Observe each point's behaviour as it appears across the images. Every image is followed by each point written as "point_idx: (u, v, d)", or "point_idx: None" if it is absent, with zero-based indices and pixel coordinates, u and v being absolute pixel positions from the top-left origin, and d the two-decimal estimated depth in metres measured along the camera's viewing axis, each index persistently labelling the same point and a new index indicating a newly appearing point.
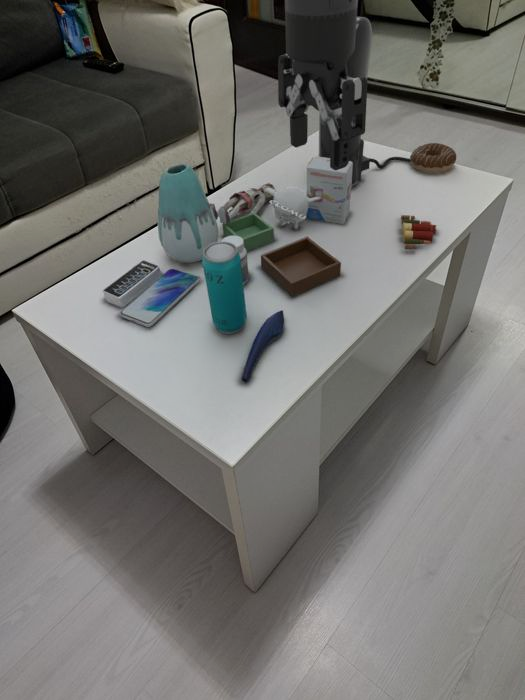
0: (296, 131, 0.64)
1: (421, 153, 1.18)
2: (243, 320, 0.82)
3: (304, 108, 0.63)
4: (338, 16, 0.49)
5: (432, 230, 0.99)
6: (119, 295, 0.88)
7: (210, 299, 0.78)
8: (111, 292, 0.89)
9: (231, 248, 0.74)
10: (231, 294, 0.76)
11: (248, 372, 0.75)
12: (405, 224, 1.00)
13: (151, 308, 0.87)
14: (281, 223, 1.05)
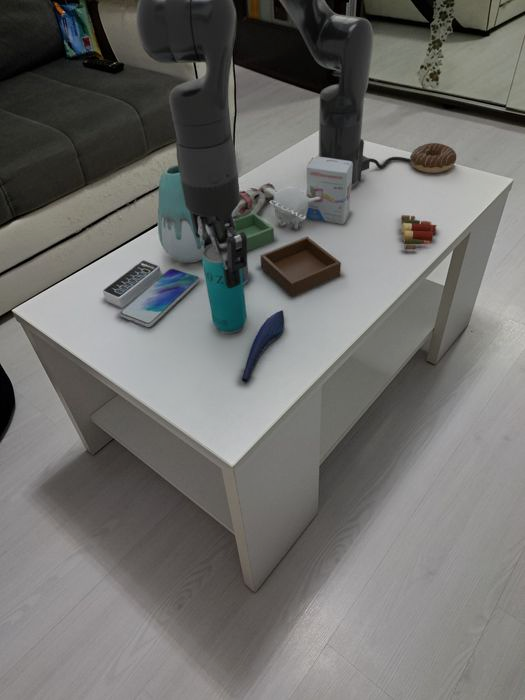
0: None
1: (421, 153, 1.18)
2: (243, 320, 0.82)
3: None
4: (218, 187, 0.63)
5: (432, 230, 0.99)
6: (119, 295, 0.88)
7: (210, 299, 0.78)
8: (111, 292, 0.89)
9: None
10: (231, 294, 0.76)
11: (248, 372, 0.75)
12: (405, 224, 1.00)
13: (151, 308, 0.87)
14: (281, 223, 1.05)
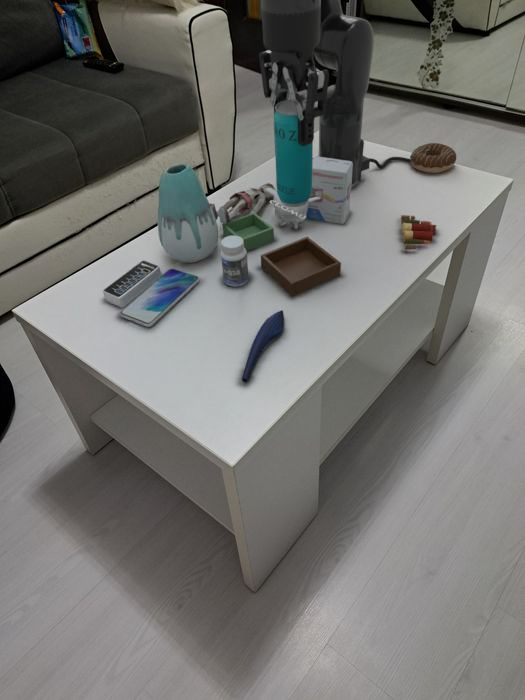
0: None
1: (421, 153, 1.18)
2: (310, 191, 0.80)
3: (285, 97, 0.74)
4: (304, 14, 0.61)
5: (432, 230, 0.99)
6: (119, 295, 0.88)
7: (278, 164, 0.76)
8: (111, 292, 0.89)
9: (304, 104, 0.72)
10: (302, 155, 0.74)
11: (248, 372, 0.75)
12: (405, 224, 1.00)
13: (151, 308, 0.87)
14: (281, 223, 1.05)
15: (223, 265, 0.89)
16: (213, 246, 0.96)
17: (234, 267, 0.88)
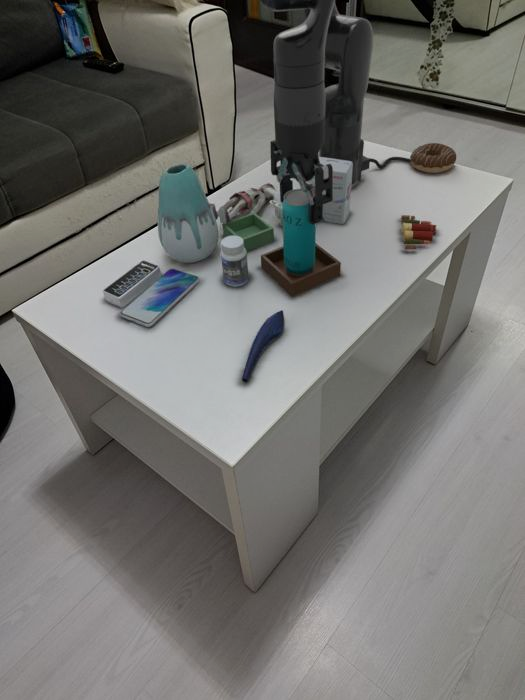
0: (284, 193, 0.86)
1: (421, 153, 1.18)
2: (313, 263, 0.91)
3: (290, 176, 0.84)
4: (311, 125, 0.71)
5: (432, 230, 0.99)
6: (119, 295, 0.88)
7: (286, 242, 0.87)
8: (111, 292, 0.89)
9: None
10: (306, 236, 0.85)
11: (248, 372, 0.75)
12: (405, 224, 1.00)
13: (151, 308, 0.87)
14: (281, 223, 1.05)
15: (223, 265, 0.89)
16: (213, 246, 0.96)
17: (234, 267, 0.88)
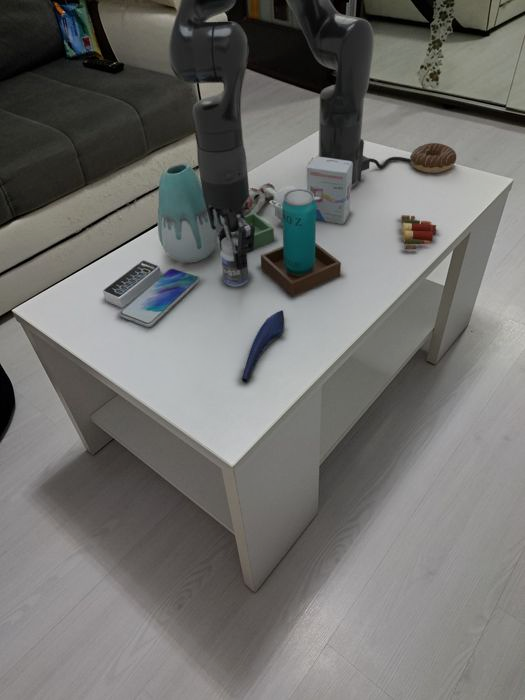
0: None
1: (421, 153, 1.18)
2: (313, 263, 0.91)
3: None
4: (231, 184, 0.76)
5: (432, 230, 0.99)
6: (119, 295, 0.88)
7: (286, 242, 0.87)
8: (111, 293, 0.89)
9: (308, 194, 0.83)
10: (306, 236, 0.85)
11: (248, 372, 0.75)
12: (405, 224, 1.00)
13: (151, 308, 0.87)
14: (281, 223, 1.05)
15: (223, 265, 0.89)
16: (213, 246, 0.96)
17: (234, 267, 0.88)
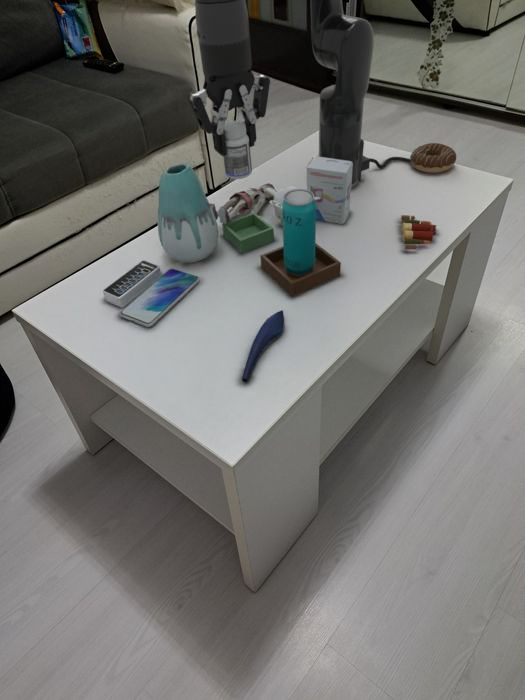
0: None
1: (421, 153, 1.18)
2: (313, 263, 0.91)
3: (248, 118, 0.82)
4: (200, 43, 0.72)
5: (432, 230, 0.99)
6: (119, 295, 0.88)
7: (286, 242, 0.87)
8: (111, 292, 0.89)
9: (308, 194, 0.83)
10: (306, 236, 0.85)
11: (248, 372, 0.75)
12: (405, 224, 1.00)
13: (151, 308, 0.87)
14: (281, 223, 1.05)
15: None
16: (213, 246, 0.96)
17: None
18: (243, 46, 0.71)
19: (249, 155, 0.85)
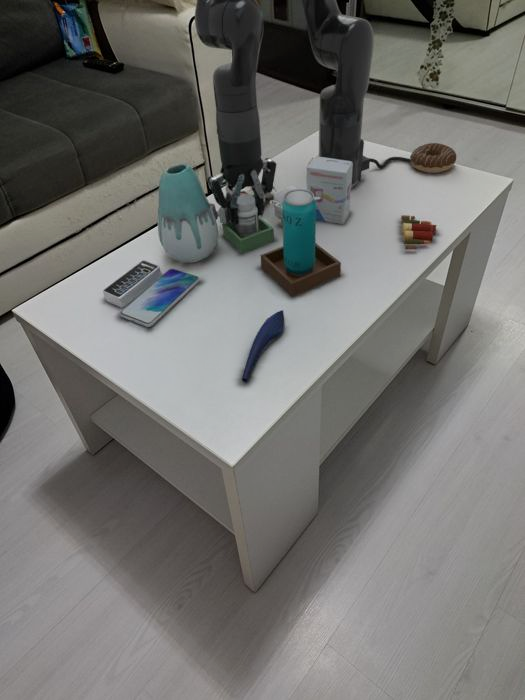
0: None
1: (421, 153, 1.18)
2: (313, 263, 0.91)
3: (257, 194, 0.96)
4: (219, 139, 0.87)
5: (432, 230, 0.99)
6: (119, 295, 0.88)
7: (286, 242, 0.87)
8: (111, 293, 0.89)
9: (308, 194, 0.83)
10: (306, 236, 0.85)
11: (248, 372, 0.75)
12: (405, 224, 1.00)
13: (151, 308, 0.87)
14: (281, 223, 1.05)
15: None
16: (213, 246, 0.96)
17: None
18: (255, 143, 0.86)
19: (257, 223, 0.99)
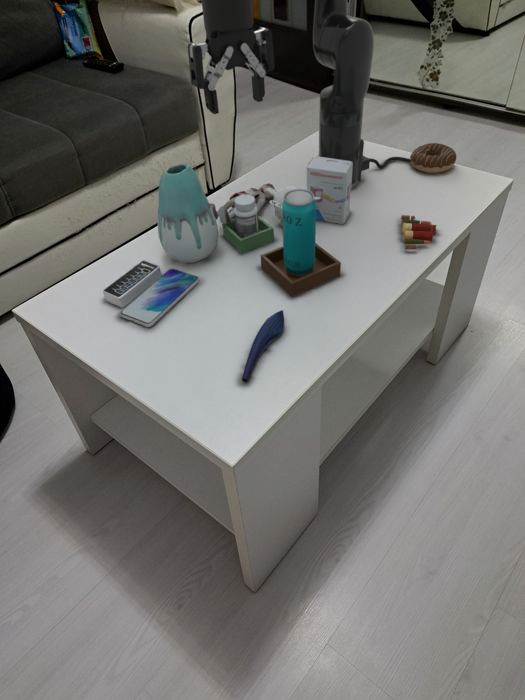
0: (253, 87, 0.84)
1: (421, 153, 1.18)
2: (313, 263, 0.91)
3: (257, 73, 0.82)
4: None
5: (432, 230, 0.99)
6: (119, 295, 0.88)
7: (286, 242, 0.87)
8: (111, 293, 0.89)
9: (308, 194, 0.83)
10: (306, 236, 0.85)
11: (248, 372, 0.75)
12: (405, 224, 1.00)
13: (151, 308, 0.87)
14: (281, 223, 1.05)
15: None
16: (213, 246, 0.96)
17: None
18: (245, 1, 0.72)
19: (257, 223, 0.99)
